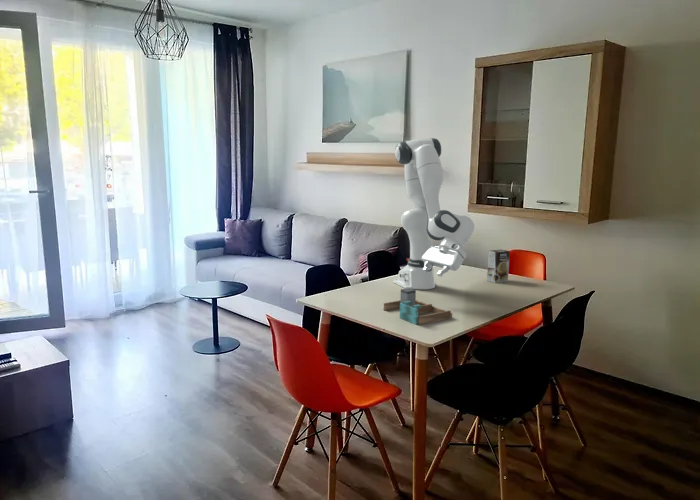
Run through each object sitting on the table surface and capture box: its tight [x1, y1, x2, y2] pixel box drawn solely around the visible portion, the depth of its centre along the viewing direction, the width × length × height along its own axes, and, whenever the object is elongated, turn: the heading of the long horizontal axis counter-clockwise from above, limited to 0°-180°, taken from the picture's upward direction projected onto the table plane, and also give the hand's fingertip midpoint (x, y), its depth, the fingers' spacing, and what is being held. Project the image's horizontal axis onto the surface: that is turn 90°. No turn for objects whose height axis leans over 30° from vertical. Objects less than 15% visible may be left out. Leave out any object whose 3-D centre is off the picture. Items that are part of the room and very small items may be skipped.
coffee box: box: [486, 249, 511, 284], centre depth 269 cm, size 9×6×16 cm
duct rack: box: [383, 299, 453, 326], centre depth 211 cm, size 23×18×7 cm
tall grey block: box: [400, 288, 417, 307], centre depth 216 cm, size 4×4×9 cm
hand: (431, 273), depth 220 cm, fingers open, 8 cm apart
